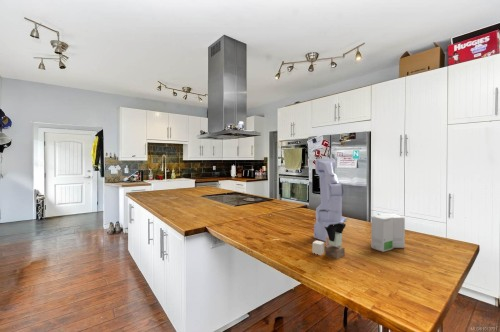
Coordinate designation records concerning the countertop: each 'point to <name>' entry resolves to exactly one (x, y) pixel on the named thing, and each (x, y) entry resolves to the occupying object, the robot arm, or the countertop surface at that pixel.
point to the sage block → (337, 240)
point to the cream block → (318, 247)
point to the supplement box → (398, 230)
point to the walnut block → (335, 251)
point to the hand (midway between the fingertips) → (334, 239)
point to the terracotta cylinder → (327, 241)
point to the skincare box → (382, 232)
